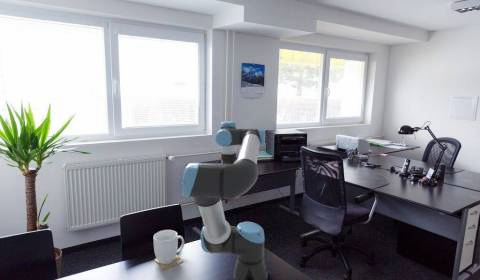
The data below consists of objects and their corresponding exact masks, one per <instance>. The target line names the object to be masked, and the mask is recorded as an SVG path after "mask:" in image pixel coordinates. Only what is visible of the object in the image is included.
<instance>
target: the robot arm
mask: <svg viewBox="0 0 480 280" xmlns="http://www.w3.org/2000/svg"><path fill="white" fill-rule="evenodd" d="M214 139H215V142H216V144H217V145H218V146H220V152H221V153H220V159H219V160H218V162H213V163H212V162H210V163H209V162H200V161H198V162H189V163H188V164H187V165H186V167H185V168H184V170H183V175H182V176H183V177H182V181H181V194H182V196H183V197H185V198H187V199H189V198H190V199H191V201H192V202H193V203H194V204H195V206H198V209H199V212H200V215H201V218H202V222H203V225H204V226H203V227H202V229H201V232H200V246H201V248H202V251H204V252H205V253H209V254H220V255H221V254H223V255H224V254H225V255H237V259H236V261H235V264H234V265H235V266H234V267H233V271H232V273H233V279H234V280H268V278H269V277H268V273H269V272H268V268H267V265H266V262H265V231H264V229H263V227H262V226H261V225H259V224H258V223H255V222H252V221H243V222H239V223H238V224H237V226H234V225H230V223H229V222H228V220H226V217H225V212H224V208H223V203H222V199H223V200H231V199H237V198H240V197H241V196H242V195H244V194H246V193H247V192H248V191H249V190H251V188H252V187H253V186H254V185H255V184H256V182H257V180H258V176H259V167H258V165H257V164H258V158H259V152H260V147H263V146H265V144H266V131H265V129H260V128H237V124H236V122H235V121H231V120H229V121H228V120H227V121H221V123H220V129H219V130H218V131H217V132H216V134H215V138H214ZM237 146H240V148H239V152H238V156H237Z"/></svg>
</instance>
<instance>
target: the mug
mask: <svg viewBox="0 0 480 280" xmlns="http://www.w3.org/2000/svg"><path fill="white" fill-rule="evenodd" d="M179 239H180V240H181V245H180V247H179V246H178V245H179ZM152 240H153V249H154V250H153V251H154V254H155V259H156V258H157V260H158V261H159V262H160V263H161V264H170V263H172V262H173V261H174V259H175V257H176V255H178V253H181V251H182V250H183V249H184V247H185V239H184V238H183V236H182V235H178V232H177V231H175V230H172V229H163V230H160V231H157V232H156V233H154V235H153V239H152ZM178 247H179V248H178Z"/></svg>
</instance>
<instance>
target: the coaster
mask: <svg viewBox="0 0 480 280" xmlns="http://www.w3.org/2000/svg"><path fill="white" fill-rule="evenodd" d="M154 261H155V262H156V264H157V265H158V266H159V267H160V268H161V269H162V270H163V271H165V270H167V269H169V268H173V267H175V266H177V265H180V264H182V263H184V260H183V258H181V257H179V255H178V254H176V257H175V259H174V261H173V262H172V263H170V264H161V263H160V262H159V261H158V260H157V258H156V257H155V258H154Z"/></svg>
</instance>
